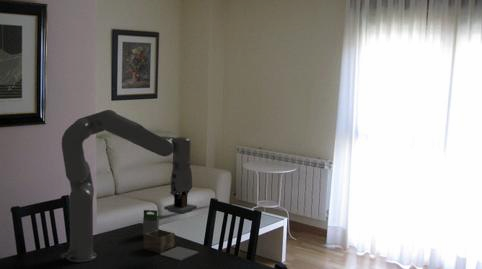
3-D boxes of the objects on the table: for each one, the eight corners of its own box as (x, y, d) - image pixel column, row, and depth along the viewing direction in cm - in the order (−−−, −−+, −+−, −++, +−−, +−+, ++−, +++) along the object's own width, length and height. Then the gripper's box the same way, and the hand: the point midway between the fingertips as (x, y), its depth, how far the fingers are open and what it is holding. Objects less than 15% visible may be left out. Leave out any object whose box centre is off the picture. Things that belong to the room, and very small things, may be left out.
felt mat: (180, 260, 240) (180, 259, 240) (159, 254, 246) (159, 253, 246) (198, 252, 251) (198, 251, 251) (178, 247, 257) (178, 246, 257)
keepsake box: (160, 253, 248) (160, 238, 247) (143, 249, 254) (143, 234, 253) (174, 247, 256) (174, 233, 256) (158, 243, 262) (158, 229, 261)
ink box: (158, 234, 275) (159, 208, 274) (156, 237, 271) (157, 210, 270) (145, 234, 276) (145, 207, 274) (142, 236, 272) (143, 209, 270)
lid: (182, 215, 239) (182, 199, 238) (164, 211, 245) (164, 195, 244) (196, 210, 248) (197, 194, 247) (178, 207, 253) (179, 191, 252)
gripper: (176, 169, 235) (175, 211, 237) (199, 164, 248) (198, 204, 251) (162, 166, 239) (161, 208, 241) (186, 162, 252) (185, 201, 255)
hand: (180, 205), depth 246 cm, fingers closed on lid, 3 cm apart
